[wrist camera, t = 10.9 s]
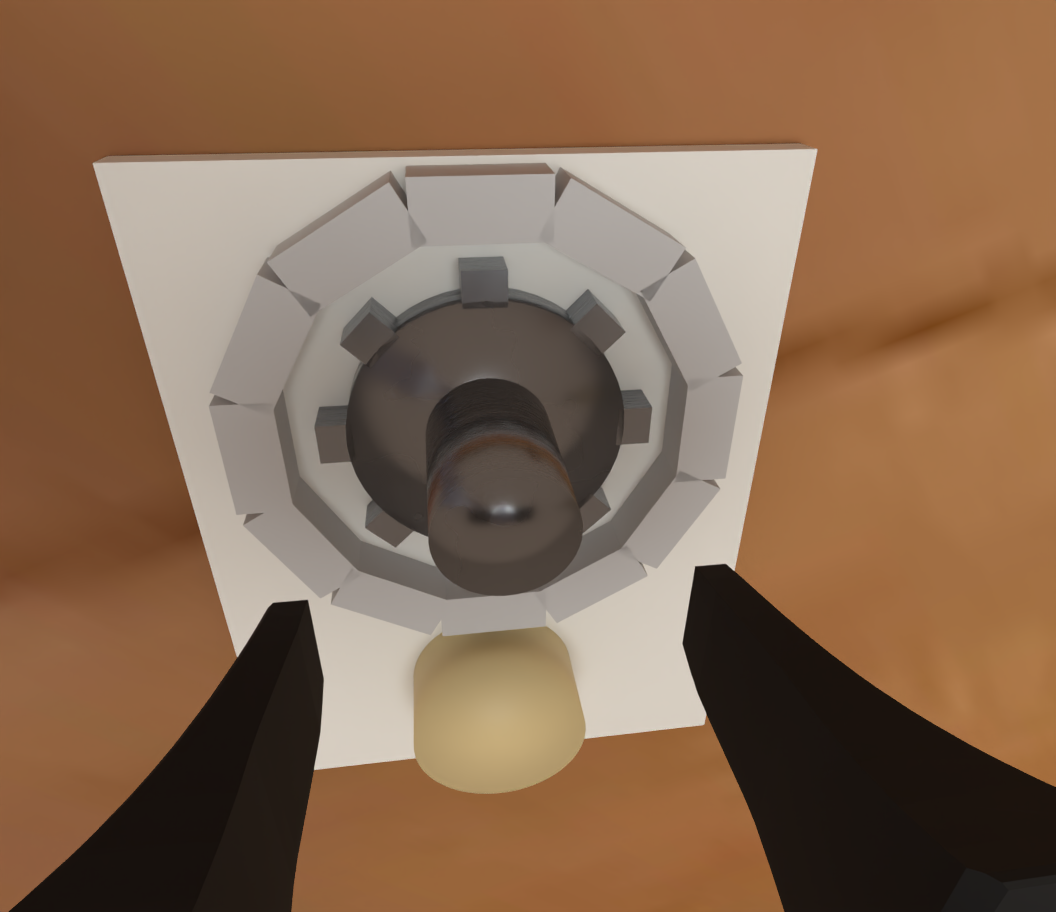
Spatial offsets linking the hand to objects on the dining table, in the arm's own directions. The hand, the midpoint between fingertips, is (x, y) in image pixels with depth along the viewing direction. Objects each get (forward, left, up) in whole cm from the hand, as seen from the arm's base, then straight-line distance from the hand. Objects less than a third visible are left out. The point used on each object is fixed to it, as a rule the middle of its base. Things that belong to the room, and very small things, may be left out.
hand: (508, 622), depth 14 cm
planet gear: (0, -1, -9) cm, 9 cm away
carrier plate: (0, -5, -10) cm, 11 cm away
